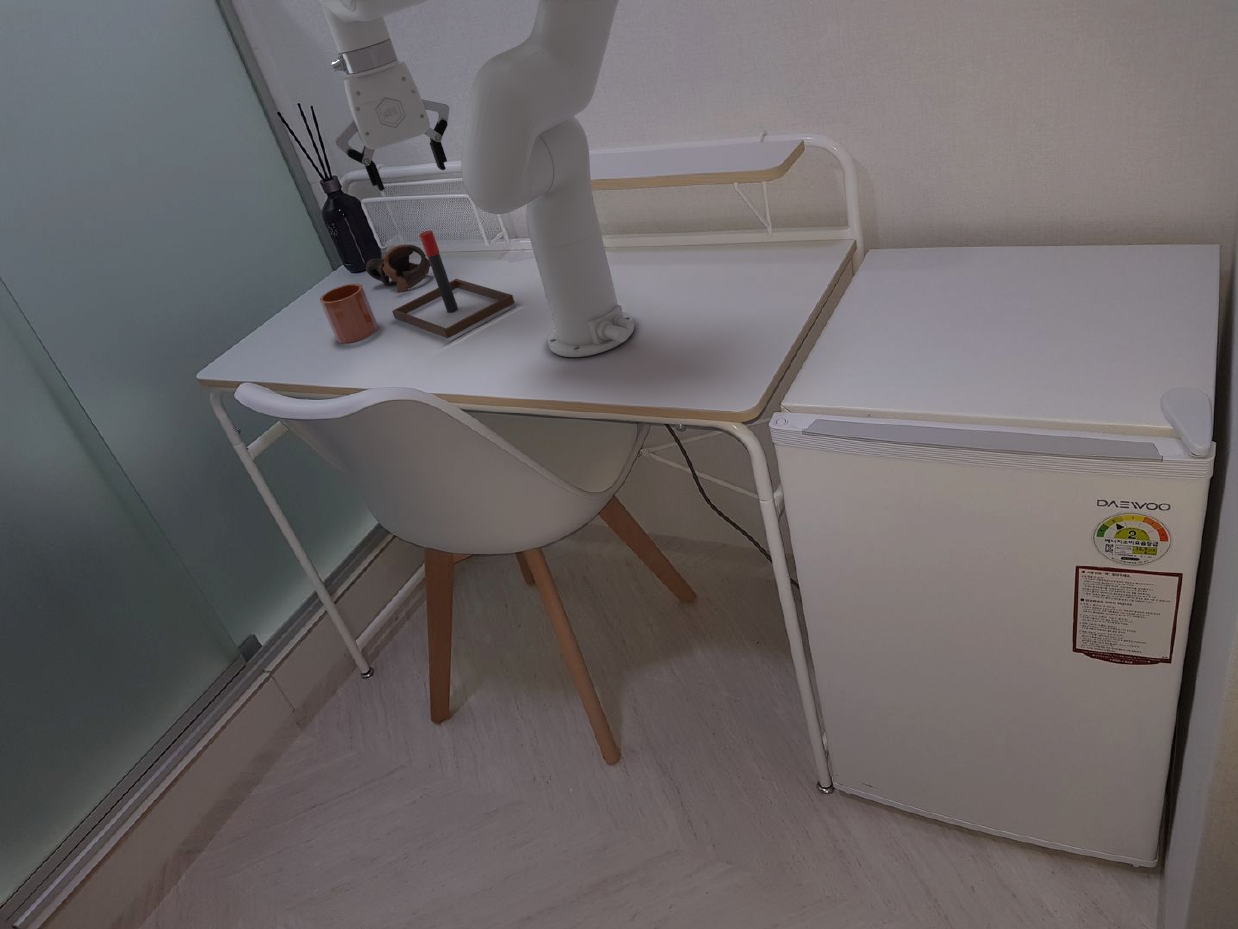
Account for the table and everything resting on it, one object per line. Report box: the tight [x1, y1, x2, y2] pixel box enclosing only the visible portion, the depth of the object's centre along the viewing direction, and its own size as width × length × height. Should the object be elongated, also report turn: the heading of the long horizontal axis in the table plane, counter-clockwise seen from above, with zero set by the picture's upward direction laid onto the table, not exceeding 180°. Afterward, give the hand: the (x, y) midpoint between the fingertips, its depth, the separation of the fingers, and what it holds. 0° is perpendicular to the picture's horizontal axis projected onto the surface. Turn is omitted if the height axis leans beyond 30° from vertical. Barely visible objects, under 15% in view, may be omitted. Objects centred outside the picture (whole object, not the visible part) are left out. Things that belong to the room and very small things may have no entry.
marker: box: [419, 230, 459, 314], centre depth 147 cm, size 2×2×14 cm
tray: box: [391, 278, 517, 343], centre depth 151 cm, size 17×13×2 cm
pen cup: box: [319, 283, 379, 344], centre depth 150 cm, size 7×7×8 cm
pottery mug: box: [365, 244, 431, 293], centre depth 166 cm, size 12×10×8 cm
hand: (411, 178), depth 139 cm, fingers open, 9 cm apart
